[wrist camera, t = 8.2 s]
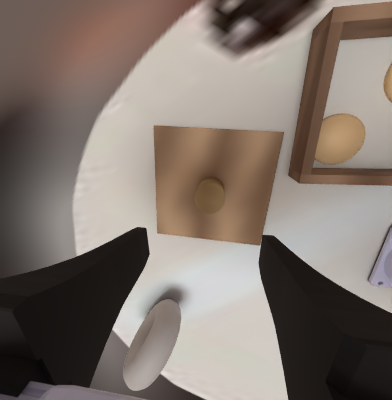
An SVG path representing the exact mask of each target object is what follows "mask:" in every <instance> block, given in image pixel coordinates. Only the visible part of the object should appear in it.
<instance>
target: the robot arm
mask: <svg viewBox="0 0 392 400" xmlns="http://www.w3.org/2000/svg"><path fill="white" fill-rule="evenodd" d="M149 255H150V253H149V245H148V238H147V230H146V228H141V227H137V228H134V229H132V230H130V231H128V232H126V233H125V234H123V235H121V236H119V237H117V238H115V239H113V240H111V241H110V242H108V243H106V244H104V245H102V246H100V247H97V248H95V249H93V250H91V251H89V252H87V253H84V254H82V255H80V256H77V257H75V258H72V259H69V260H66V261H64V262H60V263H58V264H55V265H52V266H49V267H45V268H42V269H38V270H35V271H31V272H28V273H24V274H19V275H15V276H10V277H6V278H1V279H0V400H147V399H142V398H137V397H132V396H127V395H122V394H116V393H111V392H106V391H101V390H95V389H91V388H89V386H90V384H91V381H92V378H93V376H94V373H95V370H96V367H97V365H98V362H99V360H100V357H101V355H102V352H103V350H104V347H105V344H106V342H107V340H108V338H109V335H110V333H111V331H112V328H113V326H114V324H115V321H116V319H117V317H118V315H119V313H120V310H121V308H122V306H123V304H124V302H125V300H126V299H127V297H128V295H129V293H130V292H131V290H132V288H133V287H134V285H135V283H136V281H137V280H138V278H139V276H140V274H141V273H142V271H143V269H144V267H145V265H146V262H147V260H148V257H149ZM259 268H260V275H261V280H262V283H263V287H264V290H265V293H266V297H267V300H268V303H269V307H270V310H271V313H272V317H273V320H274V324H275V329H276V334H277V339H278V344H279V349H280V354H281V360H282V365H283V370H284V376H285V382H286V388H287V394H288V400H392V313H390V312H388V311H386V310H384V309H382V308H380V307H378V306H376V305H374V304H372V303H370V302H368V301H366V300H364V299H362V298H360V297H358V296H357V295H355V294H353V293H351V292H349V291H348V290H346V289H344V288H342V287H341V286H339V285H337V284H336V283H334V282H333V281H331V280H330V279H328V278H326V277H325V276H323V275H322V274H320V273H319V272H317V271H316V270H315V269H313V268H312V267H311V266H309V265H308V264H307V263H305V262H304V261H303V260H301V259H300V258H299V257H298V256H297V255H295V254H294V253H293V252H292V251H291V250H289V249H288V248H287V247H286V246H285V245H284V244H283V243H281V242H280V241H279V240H278V239H277V238H276V237H275V236H272V235H262V242H261V250H260V257H259ZM369 283H370V284H371V285H373V286H383V287H392V227H391V229H390V231H389V233H388V236H387V238H386V240H385V243H384V245H383V248H382V250H381V252H380V255H379V257H378V260H377V262H376V264H375V267H374V269H373V271H372V274H371V276H370V279H369Z"/></svg>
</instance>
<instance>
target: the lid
mask: <svg viewBox="0 0 392 400" xmlns="http://www.w3.org/2000/svg"><path fill="white" fill-rule="evenodd" d="M283 134H284V132H268V131H248V130H229V129H209V128H190V127H171V126H154V147H155V176H156V205H157V233H160V234H168V235H177V236H185V237H193V238H202V239H210V240H219V241H227V242H235V243H244V244H252V245H260V244H261V239H262V234H263V229H264V225H265V220H266V215H267V210H268V205H269V201H270V196H271V191H272V186H273V182H274V177H275V172H276V167H277V163H278V158H279V153H280V148H281V144H282V139H283Z"/></svg>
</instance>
